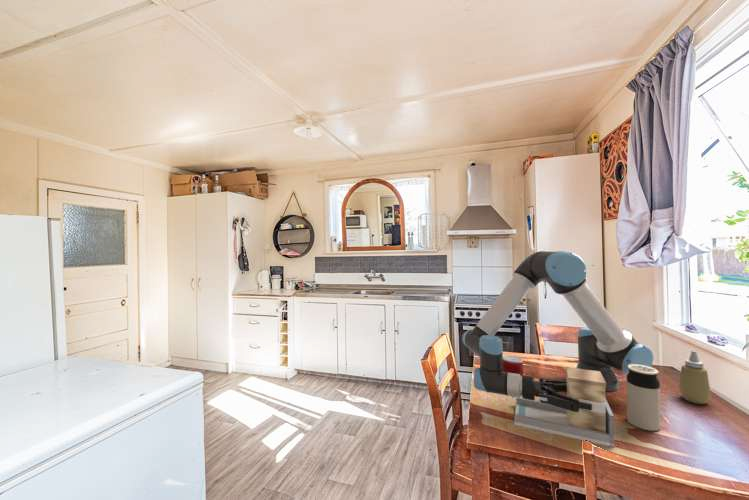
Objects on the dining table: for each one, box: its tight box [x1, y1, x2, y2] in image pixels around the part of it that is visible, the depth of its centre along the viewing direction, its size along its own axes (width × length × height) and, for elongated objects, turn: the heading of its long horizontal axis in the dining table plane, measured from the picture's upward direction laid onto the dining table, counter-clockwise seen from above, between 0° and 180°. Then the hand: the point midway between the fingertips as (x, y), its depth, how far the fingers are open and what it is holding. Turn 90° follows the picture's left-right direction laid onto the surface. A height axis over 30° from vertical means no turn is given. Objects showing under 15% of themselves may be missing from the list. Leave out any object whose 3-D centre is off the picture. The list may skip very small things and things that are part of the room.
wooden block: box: [565, 366, 606, 433], centre depth 97 cm, size 9×9×16 cm
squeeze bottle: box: [678, 350, 711, 405], centre depth 113 cm, size 8×8×18 cm
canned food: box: [502, 354, 524, 376], centre depth 128 cm, size 8×8×11 cm
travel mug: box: [626, 364, 661, 432], centre depth 98 cm, size 8×8×18 cm
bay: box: [513, 396, 615, 448], centre depth 100 cm, size 26×14×9 cm, turn 63°
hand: (601, 400), depth 95 cm, fingers open, 10 cm apart
